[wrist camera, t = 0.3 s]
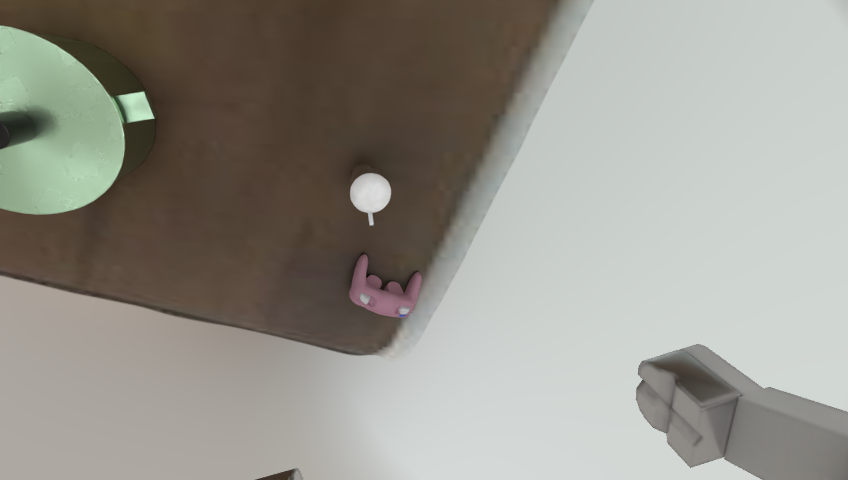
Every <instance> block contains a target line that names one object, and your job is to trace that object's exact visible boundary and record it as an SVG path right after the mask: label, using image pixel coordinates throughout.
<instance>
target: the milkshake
mask: <svg viewBox="0 0 848 480" xmlns="http://www.w3.org/2000/svg"><path fill="white" fill-rule="evenodd" d="M390 196H391V188H390V185H389V183H388V181H387V180H386V179H385V178H384V177H382V176H381V175H380V174H379V173H378V172H377V171H376V170H375V169H374V168H373V167H372V166H370V165H367V164H364V163H363V164H359V165H356V166H355V167H354V169H353V170H352V171H351V187H350V198H351V201H352V203H353V204H354V205H355V207H356V208H357V209H359V210H360V211H363V212H367V213H368V217H369V224H370V225H374V222H373V215H372V213H373V212H378V211H380V210H382V209H383V208H384V207H385V206H386V205H387V204H388V202H389V200H390Z"/></svg>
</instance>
